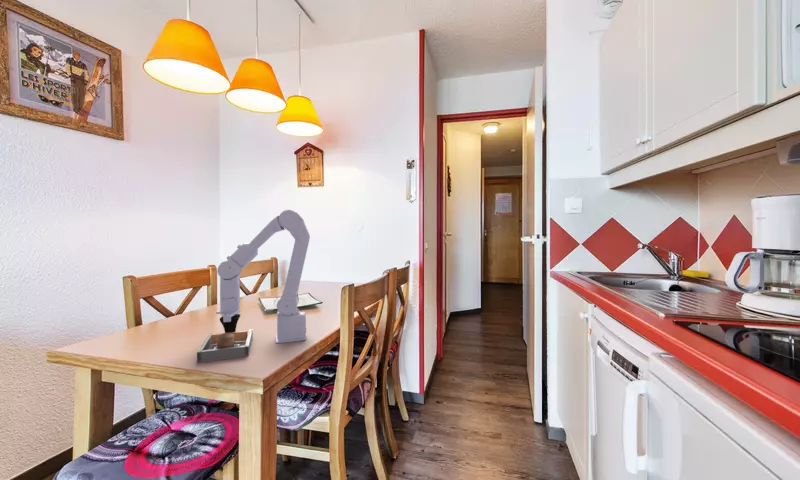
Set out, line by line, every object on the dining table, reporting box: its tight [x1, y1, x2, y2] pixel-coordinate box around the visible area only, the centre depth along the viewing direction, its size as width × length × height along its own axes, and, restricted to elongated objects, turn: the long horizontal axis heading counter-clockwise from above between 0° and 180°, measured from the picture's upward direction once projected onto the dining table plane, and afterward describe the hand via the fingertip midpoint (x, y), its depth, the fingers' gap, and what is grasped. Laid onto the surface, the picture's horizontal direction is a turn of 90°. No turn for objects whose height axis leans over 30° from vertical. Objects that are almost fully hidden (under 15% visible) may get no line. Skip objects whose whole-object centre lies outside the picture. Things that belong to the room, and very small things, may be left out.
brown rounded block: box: [217, 334, 234, 349], centre depth 93 cm, size 4×4×5 cm
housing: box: [196, 328, 254, 364], centre depth 97 cm, size 13×17×3 cm
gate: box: [211, 330, 249, 344], centre depth 101 cm, size 10×1×3 cm, turn 112°
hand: (230, 337), depth 103 cm, fingers closed
